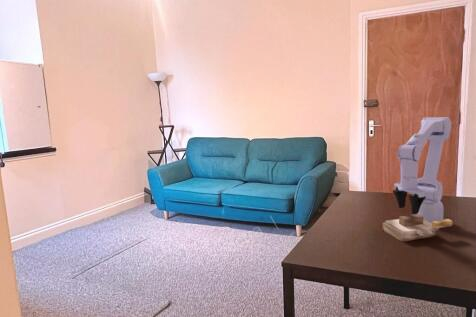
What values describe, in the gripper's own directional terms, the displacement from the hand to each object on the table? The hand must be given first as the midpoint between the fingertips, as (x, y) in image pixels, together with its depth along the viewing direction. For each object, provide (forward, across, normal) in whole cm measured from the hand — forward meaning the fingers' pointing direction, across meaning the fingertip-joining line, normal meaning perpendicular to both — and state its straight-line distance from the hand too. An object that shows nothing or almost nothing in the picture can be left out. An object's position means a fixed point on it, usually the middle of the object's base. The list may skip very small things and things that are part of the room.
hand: (408, 210), depth 131 cm
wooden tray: (+9, 0, 0) cm, 9 cm away
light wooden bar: (+5, +7, +8) cm, 12 cm away
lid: (+6, +2, +1) cm, 7 cm away
